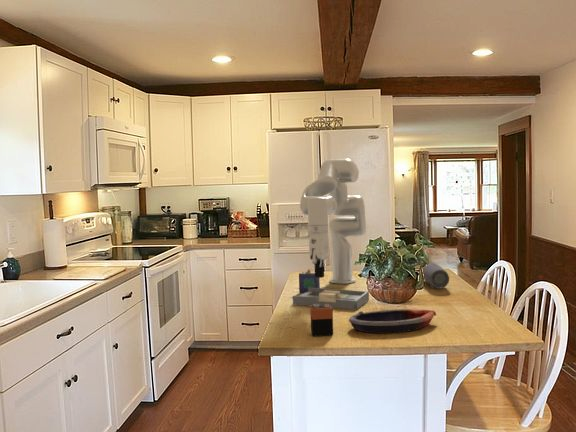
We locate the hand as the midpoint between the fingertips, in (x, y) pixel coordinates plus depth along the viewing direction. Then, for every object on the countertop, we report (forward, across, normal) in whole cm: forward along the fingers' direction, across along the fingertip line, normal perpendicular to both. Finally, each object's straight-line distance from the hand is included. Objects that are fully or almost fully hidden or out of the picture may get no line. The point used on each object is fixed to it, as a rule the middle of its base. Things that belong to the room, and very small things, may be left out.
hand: (319, 276), depth 193 cm
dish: (+14, -11, -31) cm, 36 cm away
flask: (+13, +27, +16) cm, 34 cm away
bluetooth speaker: (+13, +57, -33) cm, 67 cm away
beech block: (+11, +10, 0) cm, 15 cm away
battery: (+14, -26, -11) cm, 32 cm away
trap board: (+13, +14, +1) cm, 19 cm away
